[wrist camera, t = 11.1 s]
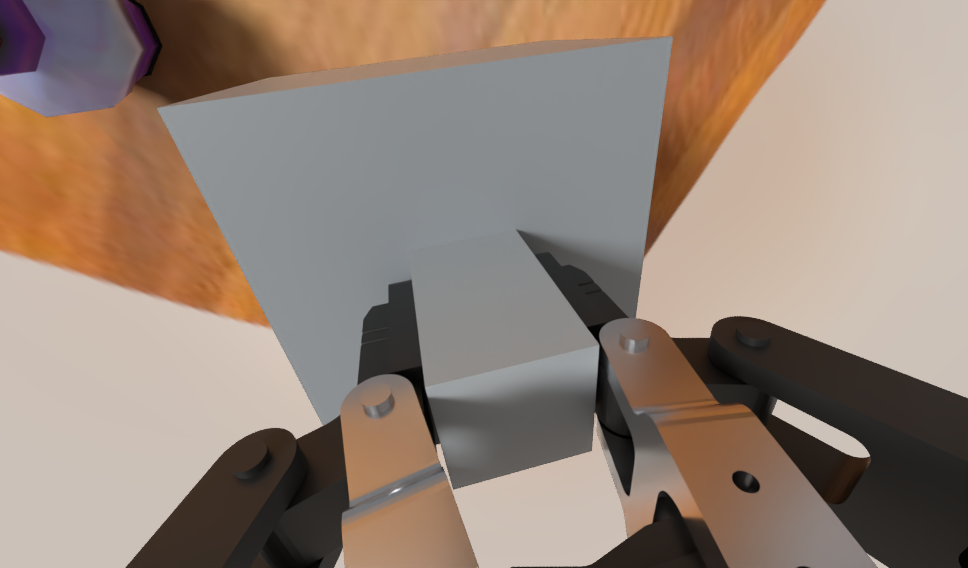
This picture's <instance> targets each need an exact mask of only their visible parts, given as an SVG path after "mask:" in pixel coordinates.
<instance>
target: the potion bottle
mask: <svg viewBox="0 0 968 568" xmlns="http://www.w3.org/2000/svg"><path fill="white" fill-rule="evenodd" d="M161 47H162V44H161V42H160V40H159V38H158V36H157V34H156V32H155V30H154V28H153V26H152V24H151V21H150V19H149V17H148V15H147V13H146V11H145V9H144V7H143V6H142V5H141V4H139V3H138V2H136V1H135V0H0V94H1V95H3V96H5V97H7V98H9V99H11V100H13V101H15V102H17V103H19V104H21V105H23V106H25V107H27V108H29V109H31V110H33V111H35V112H37V113H39V114H41V115H43V116H45V117H52V116H59V115H65V114H72V113H79V112H85V111H92V110H99V109H105V108H112V107H114V106H115V105H116V104H118V103H119V102H120V101H121V100H122V99H123V98H125V97H126V96H127V95H128V94H129V93H130V92H132V89H133V86H134V83H135V82H137V81H138V80H139V79H140V78H141V77H143V76H148V75H151V74H152V71H153V68H154V66H155V63H156V61H157V58H158V55H159V53H160V50H161Z"/></svg>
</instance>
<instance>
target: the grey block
mask: <svg viewBox="0 0 968 568" xmlns="http://www.w3.org/2000/svg"><path fill="white" fill-rule="evenodd" d="M672 39H673V36H669V37H640V38H611V39H583V40H554V41H539V42H531V43H524V44H516V45H509V46H501V47H494V48H486V49H479V50H472V51H464V52H457V53H449V54H442V55H434V56H427V57H419V58H412V59H405V60H397V61H390V62H382V63H375V64H367V65H360V66H352V67H345V68H338V69H330V70H323V71H315V72H308V73H300V74H293V75H285V76H278V77H271V78H265V79H262V80H258V81H254V82H251V83H247V84H243V85H240V86H236V87H232V88H229V89H225V90H221V91H218V92H214V93H210V94H207V95H203V96H199V97H196V98H192V99H188V100H185V101H181V102H177V103H174V104H170V105H166V106H163V107H159V108H157V109H158V111H159V113H160V115H161V117H162V119H163V121H164V123H165V125H166V127H167V128H168V130H169V132H170V134H171V136H172V138H173V140H174V142H175V144H176V146H177V148H178V149H179V151H180V153H181V155H182V157H183V159H184V161H185V163H186V165H187V167H188V169H189V170H190V172H191V174H192V176H193V178H194V180H195V182H196V184H197V186H198V188H199V190H200V191H201V193H202V195H203V197H204V199H205V201H206V203H207V205H208V207H209V209H210V211H211V212H212V214H213V216H214V218H215V220H216V222H217V224H218V226H219V228H220V230H221V232H222V233H223V235H224V237H225V239H226V241H227V243H228V245H229V247H230V249H231V251H232V253H233V254H234V256H235V258H236V260H237V262H238V264H239V266H240V268H241V270H242V272H243V274H244V275H245V277H246V279H247V281H248V283H249V285H250V287H251V289H252V291H253V293H254V295H255V297H256V298H257V300H258V302H259V304H260V306H261V308H262V310H263V312H264V314H265V316H266V318H267V319H268V321H269V323H270V325H271V327H272V329H273V331H274V333H275V335H276V337H277V339H278V340H279V342H280V344H281V346H282V348H283V350H284V352H285V353H286V356H287V358H288V359H289V361H290V363H291V365H292V367H293V369H294V371H295V373H296V375H297V377H298V378H299V381H300V382H301V384H302V386H303V388H304V390H305V392H306V394H307V396H308V398H309V399H310V401H311V403H312V405H313V407H314V409H315V411H316V413H317V415H318V417H319V419H320V421H321V423H322V424H323V426H324V425H326V424H327V423H329V422H331V421H332V420H334V419H335V418H337V417H338V416H339V415H340V409H341V405H342V403H343V401H344V399H345V397H346V396H347V395H348V393H349V392H350V391H351V390H352V389H353V388H355V387H356V386H357V382H358V371H359V360H360V349H361V346H362V345H361V339H362V335H363V334H362V328H363V319H364V317H365V316H366V315H367V313H368V312H369V310H370V309H371V308H372V306H376V305H381V304H386V303H388V285H389V284H393V283H398V282H403V281H407V280H412V286H413V294H414V302H415V310H416V318H417V327H418V335H419V343H420V351H421V359H422V367H423V375H424V384H425V389H426V393H427V397H428V400H429V404H430V407H431V411H432V415H433V418H434V422H435V425H436V429H437V433H438V436H439V440H440V444H441V447H442V450H443V454H444V458H445V462H446V465H447V469H448V472H449V476H450V479H451V483H452V487H453V489H457V488H461V487H464V486H468V485H471V484H475V483H479V482H482V481H485V480H489V479H493V478H496V477H500V476H504V475H507V474H511V473H514V472H518V471H521V470H525V469H529V468H532V467H536V466H539V465H543V464H546V463H550V462H554V461H557V460H561V459H564V458H568V457H572V456H575V455H579V454H582V453H586V452H589V451H592V441H593V427H594V413H595V400H596V386H597V372H598V358H599V344H598V342H597V341H596V340H595V338H594V337H593V335H592V334H591V333H590V331H589V330H588V328H587V327H586V326H585V324H584V323H583V322H582V320H581V319H580V317H579V316H578V315H577V313H576V312H575V311H574V309H573V308H572V306H571V305H570V304H569V302H568V301H567V300H566V298H565V297H564V295H563V294H562V293H561V291H560V290H559V288H558V287H557V286H556V284H555V283H554V282H553V280H552V279H551V277H550V276H549V275H548V273H547V272H546V271H545V269H544V268H543V266H542V265H541V264H540V262H539V261H538V259H537V258H536V257H535V255H534V254H539V253H543V252H549V253H550V254H551V255H552V256H553V257H554V258H555V259H556V260H557V262H558V263H559V264H560V265H561V266H565V265H572V266H574V267H576V268H578V269H581V270H583V271H585V272H586V273H587V274H588V275H589V276H590V277H591V278H592V280H593V281H594V283H596V284H597V285H598V286H599V287H600V288H601V289H602V292H603V291H604V292H605V293H606V294H607V295H608V296H609V297H610V298H611V299H612V300H613V301H614V303H615V304H616V305H617V306H618V307H619V308H620V309H621V310H622V311H623V312H624V313H625V314H626V315H627V316H628V317H629V318H636V310H637V303H638V295H639V288H640V280H641V273H642V265H643V258H644V250H645V243H646V235H647V228H648V220H649V212H650V205H651V197H652V190H653V182H654V175H655V167H656V160H657V152H658V145H659V137H660V130H661V122H662V114H663V107H664V99H665V92H666V84H667V77H668V69H669V62H670V54H671V47H672Z"/></svg>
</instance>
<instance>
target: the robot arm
mask: <svg viewBox="0 0 968 568" xmlns="http://www.w3.org/2000/svg"><path fill="white" fill-rule="evenodd" d="M534 255H535V257H536V258H537V259H538V261H539V262H540V264H541V265H542V266H543V268H544V269H545V271H546V272H547V273H548V275H549V276H550V277H551V279H552V280H553V282H554V283H555V284H556V286H557V287H558V288H559V290H560V291H561V293H562V294H563V295H564V297H565V298H566V300H567V301H568V302H569V304H570V305H571V306H572V308H573V309H574V311H575V312H576V313H577V315H578V316H579V317H580V319H581V320H582V322H583V323H584V324H585V326H586V327H587V328H588V330H589V331H590V333H591V334H592V335H593V337H594V338H595V340H596V341H597V342H598V344H599V358H598V372H597V386H596V400H595V428H596V431H597V435H598V437H599V440H600V443H601V446H602V449H603V452H604V455H605V458H606V460H607V463H608V466H609V469H610V472H611V475H612V478H613V481H614V484H615V487H616V489H617V492H618V495H619V498H620V501H621V504H622V508H623V511H624V517H625V524H626V532H627V538H628V539H626V540H625V541H624V542H622V543H621V544H619V545H618V546H617V547H615V548H614V549H613V550H611V551H610V552H608V553H607V554H606V555H604V556H603V557H602V558H600V559H599V560H597V561H596V562H595V563H593V564H591V565H588V566H583V567H511V568H878V567H877V566H876V565H875V563H874V562H873V561H872V560H871V559H870V557H869V556H868V555H867V553H868V554H869V555H871V556H872V557H874V558H875V559H877V560H878V561H880V562H881V563H883V564H884V565H886V566H887V567H889V568H968V398H966V397H963V396H960V395H958V394H955V393H952V392H950V391H947V390H945V389H942V388H939V387H937V386H934V385H931V384H929V383H926V382H924V381H921V380H919V379H916V378H913V377H911V376H908V375H906V374H903V373H900V372H898V371H895V370H892V369H890V368H887V367H885V366H882V365H879V364H877V363H874V362H872V361H869V360H866V359H864V358H861V357H859V356H856V355H853V354H850V353H848V352H845V351H843V350H840V349H838V348H835V347H832V346H830V345H827V344H824V343H822V342H819V341H817V340H814V339H811V338H809V337H806V336H803V335H801V334H798V333H796V332H793V331H791V330H788V329H785V328H783V327H780V326H777V325H775V324H772V323H770V322H767V321H764V320H760V319H756V318H751V317H741V316H737V317H736V316H735V317H727V318H724V319H721V320H719V321H718V322H716V323H715V324H714V326H713V328H712V331H711V336H710V338H671V337H670V336H669V335H668V333H667V332H666V331H665V330H664V329H662V328H661V327H660V326H658V325H656V324H654V323H652V322H649V321H646V320H642V319H636V318H629V317H628V316H627V315H626V314H625V313H624V312H623V311H622V310H621V309H620V308H619V307H618V306H617V305H616V304H615V303H614V301H613V300H612V299H611V298H610V297H609V296H608V295H607V294H606V293H605V292H604V291H603V292H602V289H601V288H600V287H599V286H598V285H597V284H596V283H594V281H593V280H592V278H591V277H590V276H589V275H588V274H587V273H586V272H585V271H583V270H581V269H578V268H576V267H574V266H572V265H565V266H561V265H560V264H559V263H558V262H557V260H556V259H555V258H554V257H553V256H552V255H551V254H550V253H549V252H543V253H539V254H534ZM362 334H363V335H362V339H361V345H362V346H361V349H360V360H359V371H358V382H357V386H356V387H355V388H353V389H352V390H351V391H350V392H349V393H348V395H347V396H346V397H345V399H344V401H343V403H342V405H341V409H340V415H339V416H338V417H337V418H335V419H334V420H332V421H331V422H329V423H327V424H326V425H324V426H322V427H320V428H318V429H316V430H314V431H312V432H311V433H308V434H306V435H304V436H302V437H300V438H298V439H295V437H294V436H293V434H292V433H290V432H289V431H287V430H285V429H280V428H270V429H264V430H260V431H257V432H255V433H252V434H250V435H248V436H246V437H244V438H243V439H241V440H239V441H238V442H236V443H235V444H234V445H232V446H231V447H230V448H229V449H227V450H226V451H225V452H224V453H223V454H222V455H221V456H220V457H219V458H218V460H217V461H216V462H215V463H214V464H213V465H212V467H211V468H210V469H209V470H208V471H207V473H206V474H205V475H204V476H203V477H202V479H201V480H200V481H199V482H198V483H197V484H196V486H195V487H194V488H193V489H192V490H191V491H190V493H189V494H188V495H187V496H186V497H185V498H184V500H183V501H182V502H181V503H180V504H179V505H178V507H177V508H176V509H175V510H174V511H173V513H172V514H171V515H170V516H169V517H168V519H167V520H166V521H165V522H164V523H163V524H162V525H161V527H160V528H159V529H158V530H157V531H156V532H155V534H154V535H153V536H152V537H151V539H150V540H149V541H148V542H147V543H146V544H145V545H144V547H143V548H142V549H141V550H140V551H139V552H138V554H137V555H136V556H135V557H134V559H133V560H132V561H131V562H130V563H129V564H128V565H127V567H126V568H334V567H335V564H336V562H337V560H338V558H339V556H340V553H341V551H342V548H343V552H344V564H345V568H479V566H478V563H477V560H476V558H475V555H474V552H473V549H472V546H471V543H470V541H469V538H468V535H467V532H466V529H465V527H464V524H463V521H462V518H461V515H460V513H459V510H458V507H457V504H456V502H455V499H454V496H453V493H452V490H451V487H450V485H449V482H448V479H447V476H446V474H445V471H444V469H443V467H441V464H440V461H439V459H438V456H437V450H436V444H440V440H439V436H438V433H437V429H436V425H435V422H434V418H433V415H432V411H431V407H430V404H429V400H428V397H427V393H426V389H425V384H424V375H423V367H422V359H421V351H420V343H419V335H418V327H417V318H416V310H415V302H414V294H413V286H412V280H407V281H403V282H398V283H393V284H389V285H388V303H386V304H381V305H376V306H372V308H371V309H370V310H369V312H368V313H367V315H366V316H365V317H364V319H363V328H362ZM777 399H779V400H781V401H783V402H785V403H787V404H789V405H791V406H793V407H795V408H797V409H799V410H801V411H803V412H805V413H807V414H809V415H811V416H813V417H815V418H817V419H819V420H821V421H823V422H825V423H827V424H829V425H830V426H833V427H834V428H837V429H838V430H840V431H843V432H844V433H846V434H848V435H850V436H852V437H854V438H855V439H857V440H858V441H859V442H860V443H862V444H863V445H864V447H865V448H866V449H867V450H868V452H869V454H870V457H867V458H858V457H853V456H850V455H847V454H845V453H843V452H841V451H839V450H837V449H835V448H833V447H832V446H830V445H828V444H826V443H824V442H822V441H820V440H818V439H817V438H815V437H813V436H811V435H809V434H807V433H805V432H804V431H801V430H800V429H798V428H796V427H794V426H792V425H790V424H788V423H787V422H785V421H783V420H781V419H779V418H777V417H776V416H774V415H772V412H773V409H774V407H775V404H776V402H777Z"/></svg>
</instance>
